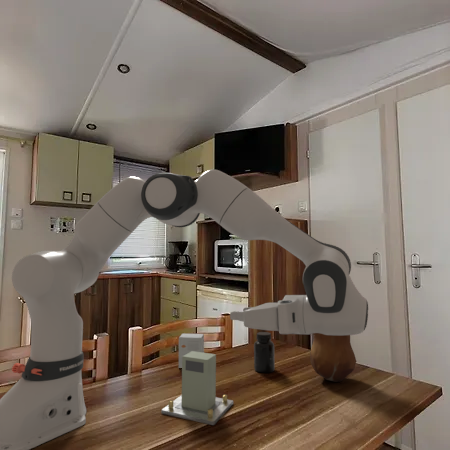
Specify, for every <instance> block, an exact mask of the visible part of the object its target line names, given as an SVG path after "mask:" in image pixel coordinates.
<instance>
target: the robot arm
mask: <svg viewBox="0 0 450 450" xmlns="http://www.w3.org/2000/svg"><path fill="white" fill-rule="evenodd" d="M200 214H204V215H206V216H208V217H209V218H211V219H212V220H213V221H215V223H217V224H218V225H220V226H221V227H222V229H224V230H226V231H227V232H228V233H230V234H231V235H233V236H235V237H237V238H239V239H241V240H244V241H259V240H260V241H267V242H273V243H275V244H277V245H278V246H280V247H282V248H283V249H285V251H288V253H290V254H292V255H293V256H294V257H296V258H297V259H298V260H300V261H301V262H303V264H304V265H305V268H304V270H303V274H302V284H303V288H304V291H305V294H285V295H284V297H283V298H282V300H278V301H277V302H265V303H263V304H260V305H256V306H252V307H251V306H250V307H247V306H246V307H243V311H236V310H235V311H231V312H230V313H229V317H230V320H231V321H239V322H243V326H244V327H245V328H248V329H253V330H260V331H261V330H262V331H268V332H269V331H270V332H271V331H272V332H273V331H274V332H279V333H278V334H280V335H313V333H321V334H324V335H333V336H344V335H350V336H353V335H359V334H361V333H363V332H364V331H365V329H366V328H367V327H368V326H367V325H368V319H369V302H368V300H367V298H365V297H364V295H362V293H360V291H359V289H358V288H357V287H356V285H355V284H354V282H353V279H352V278H351V276H350V274H351V271H352V262H351V259H350V257H349V255H348V253H346V251H344V250H343V249H342V248H340V247H338V246H337V245H334V244H330V243H326V242H322V241H320V240H318V239H316V238H314V237H312V236H311V235H309V234H308V233H307V232H306V231H304V230H303V229H301V228H299V227H298V226H297V225H295V224H294V223H292V222H290V221H289V220H288V219H286V218H285V217H284V216H282V215H281V214H280V213H279V212H277V210H276V209H274V208H273V207H272V206H271V205H270V204H269V203H267V202H266V201H265V200H264V199H263V198H262V197H261V196H259V195H258V194H257V193H256V192H254V191H253V190H252V189H251V188H249V187H248V186H246V185H245V184H244V183H242V182H240V180H238V179H236V178H235V177H233V176H231V175H230V174H229V175H228V174H227V173H225V172H223V171H221V170H220V169H219V170H218V169H208V170H206V171H205V172H203V173H202V174H201V175H200V176H198V177H197V179H196V180H194V179H193V177H192V176H190V175H183V174H177V173H171V172H159V173H155V174H153V175H151V176H150V177H148V178H147V179H146V181H145V180H144V179H142V178H140V177H138V176H137V177H136V176H128V177H126V178H124V179H122V180H121V181H120V182H119V183H117V184H115V185H114V186H113V187H112V188H110V189H109V190H108V191H107V192H106V193H105V194H104V195H103V196H102V197H101V198H100V199H98V201H97V202H95V204H94V205H93V206H92V207H90V209H89V210H88V211H87V212H86V213H85V214H84V215H83V216H82V217H81V218H80V219H79V220H78V221H77V223H76V224H75V228H74V233H73V236H72V238H71V240H70V241H69V243H68V244H67V246H65V247H64V248H63V249H60V250H41V251H36V252H34V253H30V254H28V255H26V256H23V257H22V258H21V259H19V260H18V261H17V263H16V264H15V265H14V267H13V270H12V273H11V280H12V281H11V282H12V286H13V288H14V290H15V292H17V293H18V295H20V296H21V297H22V298H23V300H24V302H25V305H26V306H27V307H26V308H27V311H28V313H29V314H28V315H29V318H30V327H31V328H30V329H31V331H30V332H31V334H30V355H29V358H28V359H27V361H26V362H25V364H24V363H20V362H15V363H14V364H13V366H12V367H11V371H12V372H13V373H14V374H19V375H20V374H21V377H20V379H19V380H18V381H16V383H15V384H14V385H13V386H12V387H11V388H10V389H9V390H8V391H6V392H5V394H4V395H3V396H2V397H1V398H0V450H31V449H33V448H36V447H37V446H38V447H39V446H40V445H41V444H44V443H46V442H49V441H51V440H53V439H55V438H58V437H60V436H62V435H65V434H66V433H68V432H71V431H73V430H76V429H77V428H80V427H82V426H83V425H85V424H86V423H87V419H86V414H87V407H86V404H85V403H86V402H85V398H84V389H83V379H82V377H83V376H82V369H83V368H84V362H85V360H84V359H85V358H84V352H83V333H84V330H83V329H84V321H83V318H82V317H81V315H80V314H79V313H78V310H77V305H76V302H75V294H78V293H81V292H83V291H85V290H87V289H88V288H90V287H91V286H93V285H94V284H95V283H96V282H97V280H98V278H99V275H100V272H101V271H102V269H103V268H104V266H105V265H106V263H107V261H108V260H109V259H110V257H111V256H112V255H113V254H114V253H115V251H116V250H117V249H119V247H120V246H121V245H122V244H123V242H125V241H126V240H127V238H128V237H129V236H130V235H131V234H132V233H133V232H134V231H135V230H136V229H137V228H138V226H140V225H141V224H142V223H143V222H144V221H146V220H147V219H149V218H154V219H156V220H158V221H159V222H161V223H162V224H165V225H168V226H172V227H175V228H187V227H189V226H191V225H193V224H194V223H195V222H196V221H197V220H198V219H199V217H200Z"/></svg>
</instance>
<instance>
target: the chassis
mask: <svg viewBox="0 0 450 450" xmlns="http://www.w3.org/2000/svg"><path fill="white" fill-rule="evenodd" d="M181 402H182V394H180V396H178V397H176V399H174V400H169V401H168V404H167V405H166V406H165V407H163V408H162V409H161V411H160V413H161V414H163V415H168V416H171V417H175V418H181V419H185V420H188V421H193V422H198V423H201V424H207V425H211V426H215V425H216V424H217V422H219V420H220V419H221V418H222V417H223V416H224V415H225V413H227V411H228V410H229V409H230V408H231V407H232V406H233V405H234V400H232V399H228V394H223V395H222V397H217V396H216V403H215V404H214V405H213V406H212V407H211V408H210V409H208V411H207V412H206V411H201V410H197V409H192V408H187V407H183V406H181Z"/></svg>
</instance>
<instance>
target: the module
mask: <svg viewBox="0 0 450 450" xmlns="http://www.w3.org/2000/svg"><path fill="white" fill-rule="evenodd" d="M216 370H217V354H214V353H207V352H204V353H202V352H195V351H191V352H189V353H188V354H186V355H184V356H182V369H181V395H182V402H181V406H183V407H187V408H192V409H197V410H201V411H206V412H207V411H208V409H210V408H211V407H212V406H213V405H214V404H215V403H216V397H217V395H216V394H217V393H216V389H217V388H216V387H217V385H216V383H217V379H216V377H217V371H216Z"/></svg>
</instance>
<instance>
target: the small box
mask: <svg viewBox="0 0 450 450" xmlns="http://www.w3.org/2000/svg"><path fill="white" fill-rule="evenodd" d="M191 351H195V352H202V353H205V335H204V333H181V335H180V336H179V337H178V369H179V368H182V356H184V355H186V354H188V353H189V352H191Z"/></svg>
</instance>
